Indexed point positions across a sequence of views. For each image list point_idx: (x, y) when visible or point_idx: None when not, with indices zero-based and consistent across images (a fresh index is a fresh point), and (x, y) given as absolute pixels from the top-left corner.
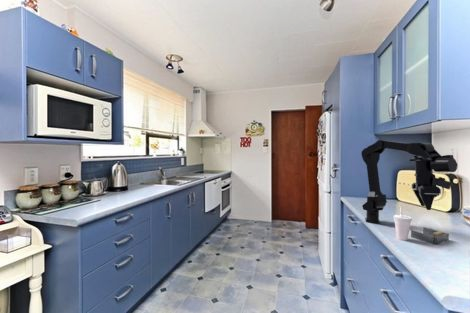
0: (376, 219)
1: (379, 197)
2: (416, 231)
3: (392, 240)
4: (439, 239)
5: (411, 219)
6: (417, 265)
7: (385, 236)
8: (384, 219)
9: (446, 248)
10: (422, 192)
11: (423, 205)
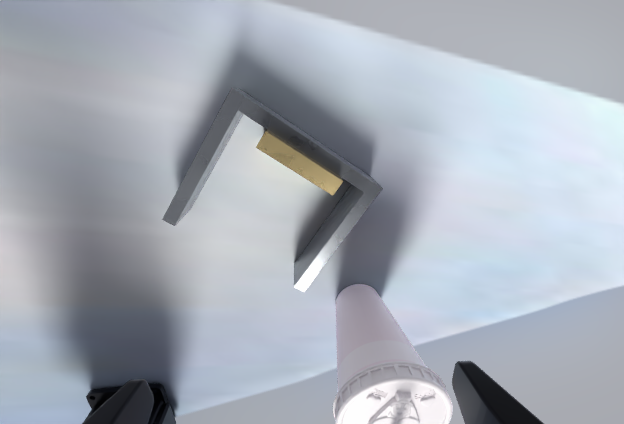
0: (154, 417)
1: None
2: (311, 268)
3: None
4: (339, 157)
5: (410, 370)
6: None
7: None
8: (31, 369)
9: (400, 132)
10: None
11: (144, 394)
